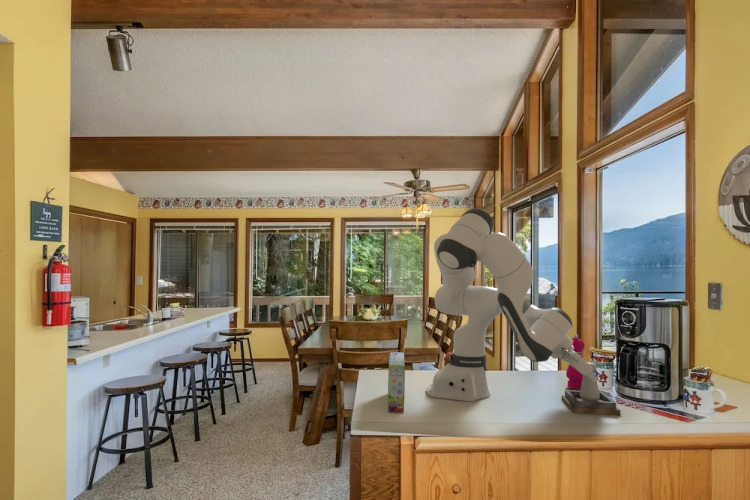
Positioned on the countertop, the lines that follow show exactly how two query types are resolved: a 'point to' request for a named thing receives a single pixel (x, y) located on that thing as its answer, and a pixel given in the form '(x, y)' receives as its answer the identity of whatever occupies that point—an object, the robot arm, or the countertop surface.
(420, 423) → the countertop surface
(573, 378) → the pepper mill
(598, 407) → the tray
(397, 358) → the snack box
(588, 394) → the salt shaker
